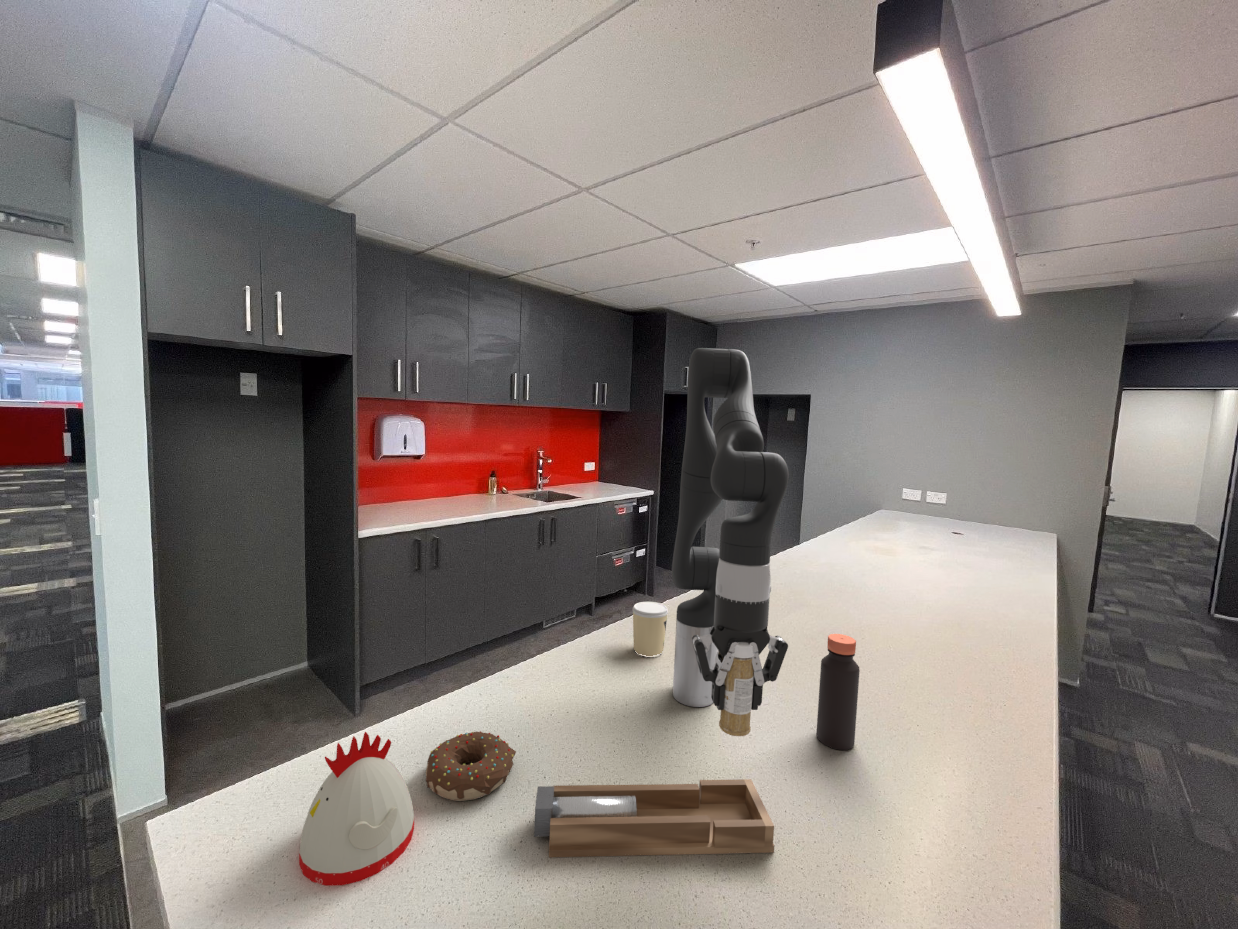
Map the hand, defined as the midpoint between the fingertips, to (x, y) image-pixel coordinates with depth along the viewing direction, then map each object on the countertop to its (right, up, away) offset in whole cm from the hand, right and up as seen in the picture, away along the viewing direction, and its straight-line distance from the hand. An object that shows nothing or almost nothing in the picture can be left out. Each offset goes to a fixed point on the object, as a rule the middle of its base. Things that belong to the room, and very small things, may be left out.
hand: (735, 706), depth 73 cm
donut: (-41, -16, +10) cm, 45 cm away
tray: (-12, -18, 0) cm, 21 cm away
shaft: (-22, -16, -1) cm, 27 cm away
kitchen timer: (-52, -17, -4) cm, 55 cm away
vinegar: (+25, -18, +24) cm, 39 cm away
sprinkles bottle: (0, -3, 0) cm, 3 cm away
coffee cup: (-9, -15, +60) cm, 63 cm away
